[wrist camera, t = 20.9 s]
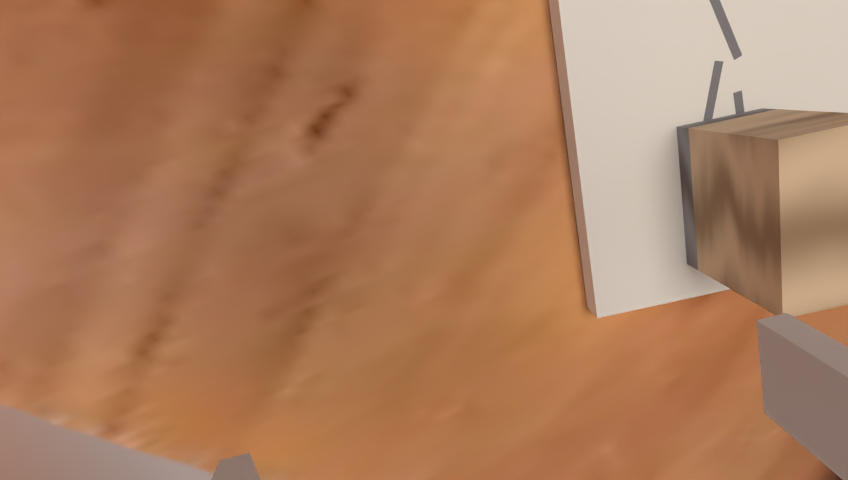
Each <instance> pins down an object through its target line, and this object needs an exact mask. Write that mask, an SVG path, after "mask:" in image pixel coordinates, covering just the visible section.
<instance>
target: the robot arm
mask: <svg viewBox="0 0 848 480" xmlns="http://www.w3.org/2000/svg"><path fill="white" fill-rule="evenodd" d="M757 329H758V341H759V353H760V365H761V377H762V390H763V402H764V413H765V414H766V415H767V416H768V417H770V418H771V419H772V420H773V421H774V422H775V423H777V424H778V425H779V426H780V427H781V428H782V429H784V430H785V431H786V432H787V433H788V434H789V435H791V436H792V437H793V438H794V439H795V440H796V441H798V442H799V443H800V444H801V445H802V446H803V447H805V448H806V449H807V450H808V451H809V452H811V453H812V454H813V455H814V456H815V457H816V458H818V459H819V460H820V461H821V462H822V463H823V464H825V465H826V466H827V467H828V468H829V469H830V470H832V471H833V472H834V473H835V474H836V475H837V476H839V477H840V478H841V479H842V480H848V347H846V346H845V345H843V344H841V343H839V342H838V341H836V340H834V339H832V338H830V337H829V336H827V335H825V334H823V333H821V332H820V331H818V330H816V329H814V328H813V327H811V326H809V325H807V324H805V323H804V322H802V321H800V320H798V319H796V318H795V317H793V316H791V315H789V314H788V313H783V314H780V315H776V316H772V317H768V318H764V319H760V320H757ZM212 480H260V478H259V475H258V473H257V470H256V468H255V465H254V463H253V460H252V458H251V455H250V453H247V454H243V455H239V456H235V457H232V458H228V459H224V460H220V461H219V464H218V466H217V468H216V471H215V473H214V475H213V478H212Z"/></svg>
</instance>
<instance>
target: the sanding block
mask: <svg viewBox="0 0 848 480" xmlns="http://www.w3.org/2000/svg"><path fill="white" fill-rule="evenodd" d="M677 139H678V152H679V165H680V179H681V192H682V205H683V219H684V232H685V246H686V259H687V264H688V265H690V266H691V267H693V268H695V269H697V270H698V271H700V272H702V273H704V274H705V275H707V276H709V277H711V278H712V279H714V280H716V281H718V282H719V283H721V284H723V285H724V286H726V287H728V288H730V289H731V290H733V291H735V292H737V293H738V294H740V295H742V296H744V297H745V298H747V299H749V300H751V301H752V302H754V303H756V304H758V305H759V306H761V307H763V308H765V309H766V310H768V311H770V312H771V313H773V314H775V315H780V314H783V313H788V314H789V315H791V316H793V317H794V316H798V315H803V314H807V313H812V312H816V311H821V310H825V309H830V308H834V307H839V306H843V305H848V113H840V112H822V111H803V110H784V109H765V108H761V109H757V110H752V111H747V112H743V113H738V114H733V115H729V116H724V117H720V118H715V119H710V120H706V121H701V122H696V123H692V124H687V125H682V126H678V127H677Z"/></svg>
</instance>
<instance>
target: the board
mask: <svg viewBox="0 0 848 480" xmlns="http://www.w3.org/2000/svg"><path fill="white" fill-rule="evenodd" d="M549 8H550V16H551V24H552V32H553V40H554V48H555V56H556V63H557V71H558V79H559V87H560V95H561V103H562V111H563V119H564V126H565V134H566V142H567V150H568V158H569V166H570V174H571V182H572V190H573V197H574V205H575V213H576V221H577V229H578V237H579V245H580V253H581V261H582V268H583V276H584V284H585V292H586V300H587V308H588V309H589V310H590V311H591V312H592V313H593V314H594V315H595V316H596V317H597V318H600V317H605V316H610V315H614V314H619V313H623V312H628V311H633V310H637V309H642V308H646V307H651V306H655V305H660V304H665V303H669V302H674V301H678V300H683V299H688V298H692V297H697V296H701V295H706V294H711V293H715V292H720V291H724V290H729V289H730V288H728V287H726V286H724V285H723V284H721V283H719V282H718V281H716V280H714V279H712V278H711V277H709V276H707V275H705V274H704V273H702V272H700V271H698V270H697V269H695V268H693V267H691V266H690V265H688V264H687V259H686V246H685V232H684V219H683V205H682V192H681V179H680V165H679V152H678V139H677V127H678V126H682V125H687V124H692V123H696V122H701V121H706V120H710V119H715V118H720V117H724V116H729V115H733V114H738V113H743V112H747V111H752V110H757V109H761V108H765V109H784V110H803V111H822V112H840V113H848V0H549Z"/></svg>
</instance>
